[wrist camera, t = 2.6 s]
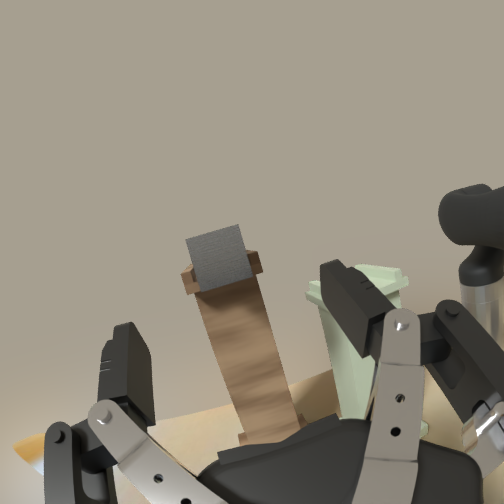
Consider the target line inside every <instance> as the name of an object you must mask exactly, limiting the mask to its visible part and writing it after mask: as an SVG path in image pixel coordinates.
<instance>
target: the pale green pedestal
mask: <svg viewBox="0 0 504 504" xmlns="http://www.w3.org/2000/svg"><path fill="white" fill-rule="evenodd" d="M355 269H357V270H359V271H361V272H363V273H364V274H365V275H366V276H367V277H368V278H369V281H371V282H372V283H373V284H374V285H375V287H377V288H378V289H379V290H380V291H381V292H382V293H383V294H384V295H385V296H386V297H387V299H388V300H389V301H390V302H391V303H392V304H393V305H394V306H395V307H396V308H401V302H400V296H399V290H398V289H400V288H403V287H405V286H407V285H409V282H408V277H407V276H402V273H401V269H397V268H389V267H380V266H372V265H364V264H359V265H356V266H355ZM309 287H310V291H308V292H305V294H306V298H307V300H309V301H311V302H313V303H314V304H316V305H318V309H319V313H320V317H321V321H322V325H323V329H324V333H325V338H326V342H327V347H328V351H329V355H330V361H331V365H332V370H333V375H334V379H335V384H336V389H337V394H338V399H339V404H340V409H341V414H342V417H341V418H339V419H347V418H358V419H364V416H365V412H366V408H367V404H368V400H369V395H370V389H371V383H372V377H373V371H374V364H375V361H374V359H373V358H372V356H371V355H370V356H367V357H365V358H363V359H362V358H361V357H360V355H359V354H358V352H357V351H356V349H355V348H354V346H353V345H352V344H351V342H350V341H349V339H348V338H347V336H346V335H345V333H344V332H343V330H342V329H341V328H340V326H339V325H338V323H337V322H336V320H335V319H334V318H333V316H332V315H331V313H330V312H329V310H328V309H327V308H326V306H325V304H324V302H323V300H322V297H321V286H320V282H319V281H316V280H314V281H311V282H309ZM426 434H428V424H426V423H425V422H424V421H423V420H422V422H421V431H420V438H422V437H423V436H425V435H426Z"/></svg>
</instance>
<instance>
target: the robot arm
mask: <svg viewBox="0 0 504 504" xmlns="http://www.w3.org/2000/svg"><path fill="white" fill-rule="evenodd" d="M438 216H439V222H440V225H441V228H442V230H443V232H444V233H445V235H446V236H447V237H448V238H449V239H450V240H451V241H452V242H454V243H455V244H458V245H475V247H474V249H473V251H472V253H471V254H470V255H469V256H468V257H467V258H466V259H465V260H464V261H463V262H462V264H461V265H460V267H459V279H460V288H461V298H462V304H460V303H459V302H457V301H454V300H443V301H441V302H440V303H439V304H438V305H437V307H436V310H435V312H432V313H427V314H421V315H416V314H415V313H414V312H412V311H410V310H408V309H403V308H396V307H395V306H394V305H393V304H392V303H391V302H390V301H389V300H388V299H387V297H386V296H385V295H384V294H383V293H382V292H381V291H380V290H379V289H378V288H377V287H375V285H374V284H373V283H372V282H371V281H369V278H368V277H367V276H366V275H365V274H364V273H363V272H361V271H359V270H357V269H355V268H353V267H350V268H346V267H345V266H344V265H343V264H342V263H341V262H340V261H339V260H338V259H336V260H333V261H330V262H327V263H324V264H321V265H320V286H321V297H322V300H323V302H324V304H325V306H326V308H327V309H328V310H329V312H330V313H331V315H332V316H333V318H334V319H335V320H336V322H337V323H338V325H339V326H340V328H341V329H342V330H343V332H344V333H345V335H346V336H347V338H348V339H349V341H350V342H351V344H352V345H353V346H354V348H355V349H356V351H357V352H358V354H359V355H360V357H361V358H362V359H363V358H365V357H367V356H370V355H371V356H372V358H373V359H374V361H375V364H374V371H373V377H372V383H371V389H370V395H369V400H368V404H367V408H366V412H365V416H364V419H358V418H347V419H339V418H338V416H337V415H336V413H335V414H333V415H330V416H328V417H325V418H323V419H320V420H318V421H315V422H313V423H310V424H308V425H306V426H305V427H303V428H302V429H300V430H299V431H297V432H296V433H294V434H292V435H291V436H289V437H288V438H286V439H284V440H283V441H281V442H276V443H264V444H249V445H244V446H240V447H236V448H232V449H228V450H224V451H220V452H217V454H218V457H219V459H218V460H216V461H214V462H213V463H211V464H210V465H208V466H207V467H206V468H205V469H204V470H203V471H202V472H201V473H200V474H199V475H198V476H197V475H196V474H194V473H193V472H192V471H191V470H189V469H188V468H187V467H185V466H184V465H183V464H182V463H180V462H179V461H178V460H177V459H176V458H175V457H173V456H172V455H171V454H170V453H169V452H168V451H167V450H165V449H164V448H163V447H162V446H161V445H160V444H159V443H158V442H157V441H156V440H155V439H153V438H152V437H151V436H150V435H149V434H148V433H147V427H148V426H154V425H156V423H155V412H154V400H153V385H152V367H151V355H150V352H149V349H148V347H147V345H146V343H145V342H144V340H143V338H142V337H141V335H140V333H139V332H138V330H137V328H136V327H135V325H134V323H132V322H129V323H125V324H121V325H117V326H115V327H114V332H113V340H109V341H107V343H106V344H105V346H104V348H103V350H102V356H101V365H100V371H101V372H100V374H99V387H98V400H97V403H96V404H94V405H93V407H92V408H91V409H90V411H89V413H88V418H87V419H86V420H84V421H82V422H80V423H78V424H75V425H74V426H71V427H70V426H69V425H68V424H66V423H64V422H56V423H54V424H52V425H51V426H50V427H49V428H48V430H47V432H46V434H45V443H44V491H45V492H44V493H45V504H118V502H117V496H116V490H115V483H114V476H113V467H112V466H114V465H116V464H118V463H119V464H118V465H117V466H118V468H119V469H120V471H121V472H122V473H123V474H124V475H125V476H126V477H127V479H128V480H129V481H130V482H131V483H132V484H133V485H134V486H135V487H136V488H137V489H138V490H139V491H140V492H141V493H142V494H143V495H144V496H145V497H146V498H147V499H148V500H149V501H150V502H151V503H152V504H484V500H483V479H484V478H485V477H486V476H487V475H488V474H490V473H491V472H492V471H493V470H494V469H495V468H497V467H498V466H499V465H500V464H501V463H502V462H503V461H504V186H503V187H501V188H498V189H495V190H492V189H491V188H490V187H489V186H487V185H485V184H477V185H473V186H469V187H465V188H461V189H458V190H454V191H452V192H449V193H448V194H446V195H445V196H444V197H443V199H442V200H441V202H440V205H439V211H438ZM422 365H425V367H426V368H427V369H428V371H429V372H430V374H431V375H432V377H433V378H434V380H435V381H436V383H437V384H438V386H439V387H440V388H441V390H442V391H443V393H444V394H445V396H446V397H447V399H448V401H449V402H450V404H451V405H452V407H453V408H454V410H455V411H456V413H457V414H458V416H459V418H460V419H461V421H462V422H463V424H464V426H463V428H462V443H463V445H464V446H465V453H464V452H460V451H457V450H453V449H450V448H446V447H443V446H440V445H437V444H433V443H430V442H427V441H424V440H421V439H420V431H421V422H422V410H423V396H424V366H422Z"/></svg>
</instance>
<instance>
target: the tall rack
mask: <svg viewBox="0 0 504 504" xmlns="http://www.w3.org/2000/svg"><path fill="white" fill-rule="evenodd" d="M246 253H247V256H248V260H249V263H250V267H251V270H252V274H253V277H251V278H247V279H244V280H241V281H238V282H234V283H231V284H228V285H224V286H221V287H217V288H214V289H211V290H207V291H204V292H201V290H200V287H199V284H198V281H197V277H196V274H195V271H194V267H193V264H190V265H189V266H188V267H187V268H186V269H185V270H184V271H183V272H182V273H181V276H182V280H183V283H184V286H185V289H186V293H187V295H189V294H192V293H194V294H195V297H196V300H197V303H198V306H199V309H200V312H201V315H202V318H203V321H204V324H205V327H206V330H207V333H208V336H209V339H210V342H211V345H212V348H213V351H214V353H215V356H216V359H217V362H218V365H219V367H220V370H221V373H222V375H223V378H224V381H225V383H226V386H227V389H228V391H229V394H230V396H231V399H232V401H233V404H234V407H235V409H236V412H237V414H238V417H239V419H240V422H241V424H242V427H243V429H244V431H245V432H244V433H241V434H238V438H239V443H240V446H244V445H249V444H264V443H276V442H281V441H283V440H284V439H286V438H288V437H289V436H291V435H292V434H294V433H296V432H297V431H299V430H300V429H302V428H303V427H305V426H306V425H308V424H307V422H306V420H305V419H304V417H303V415H302V414H300V415H296V412H295V408H294V405H293V402H292V398H291V395H290V391H289V388H288V385H287V381H286V377H285V374H284V371H283V367H282V364H281V360H280V357H279V353H278V350H277V347H276V343H275V340H274V336H273V333H272V329H271V326H270V322H269V319H268V316H267V312H266V308H265V305H264V302H263V298H262V295H261V291H260V288H259V284H258V281H257V277H256V274H259V273H262V272H263V270H262V266H261V262H260V259H259V255H258V252H257V251H250V250H246Z"/></svg>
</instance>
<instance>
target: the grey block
mask: <svg viewBox="0 0 504 504" xmlns="http://www.w3.org/2000/svg"><path fill="white" fill-rule="evenodd" d="M186 243H187V247H188V250H189V253H190V257H191V261H192V264H193V267H194V271H195V274H196V277H197V281H198V284H199V287H200V290H201V292H204V291H207V290H211V289H214V288H217V287H221V286H224V285H228V284H231V283H234V282H238V281H241V280H244V279H247V278H251V277H253V274H252V270H251V267H250V263H249V260H248V256H247V253H246V250H245V246H244V243H243V239H242V236H241V232H240V229H239V226H238V224H237V225H234V226H230V227H227V228H223V229H220V230H216V231H213V232H210V233H206V234H203V235H199V236H196V237H193V238H189V239H186Z"/></svg>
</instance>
